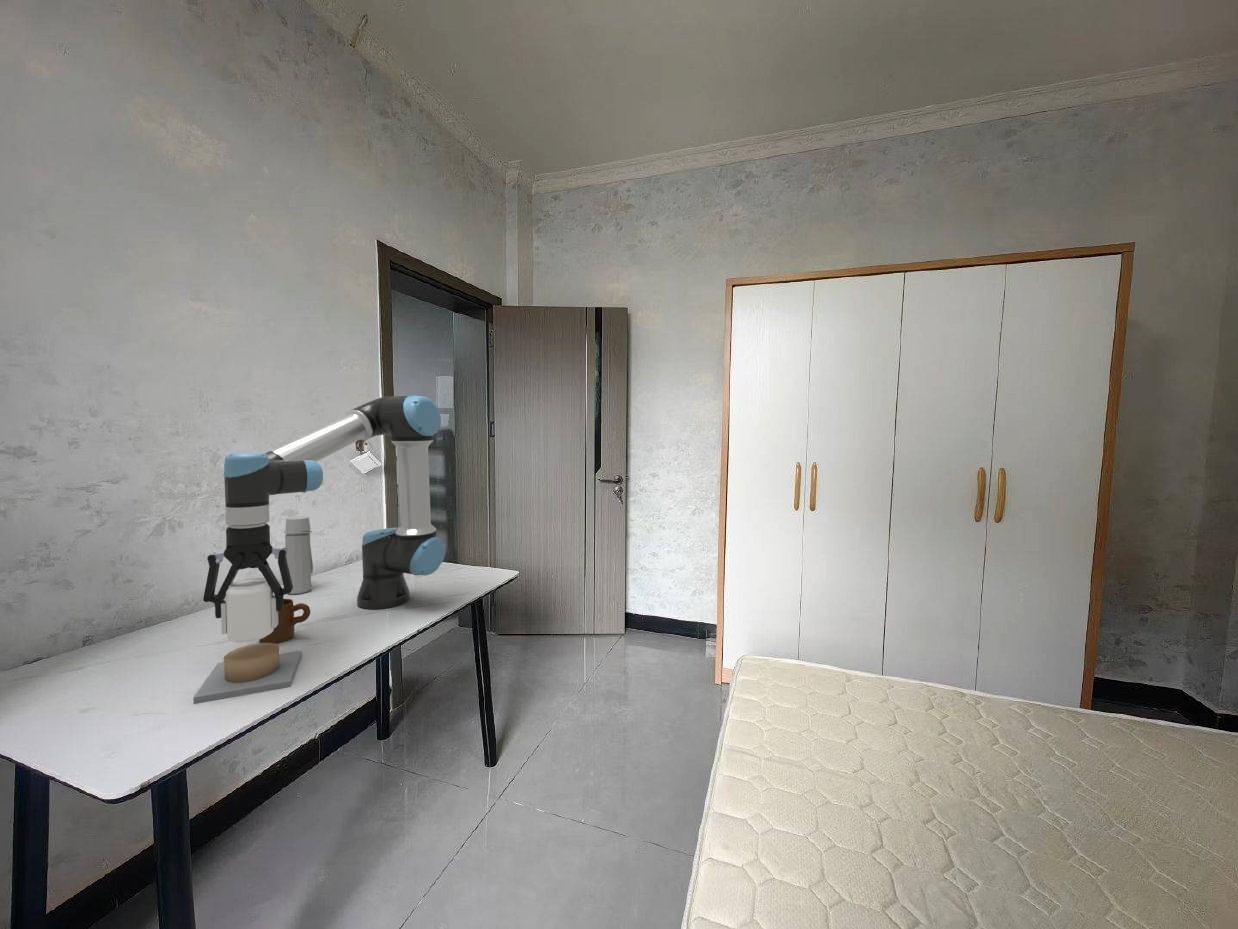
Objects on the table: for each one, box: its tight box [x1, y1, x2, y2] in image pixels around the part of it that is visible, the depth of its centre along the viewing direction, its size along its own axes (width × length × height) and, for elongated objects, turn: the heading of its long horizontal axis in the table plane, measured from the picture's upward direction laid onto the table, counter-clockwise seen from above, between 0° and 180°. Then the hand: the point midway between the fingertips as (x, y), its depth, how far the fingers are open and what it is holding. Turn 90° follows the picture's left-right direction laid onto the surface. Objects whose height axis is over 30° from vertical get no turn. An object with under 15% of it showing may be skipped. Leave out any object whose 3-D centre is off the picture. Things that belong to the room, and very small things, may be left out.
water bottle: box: [283, 515, 314, 595], centre depth 165 cm, size 9×8×25 cm
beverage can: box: [225, 577, 274, 644], centre depth 106 cm, size 8×8×12 cm
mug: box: [259, 598, 311, 644], centre depth 127 cm, size 12×8×9 cm, turn 97°
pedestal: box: [193, 642, 302, 704], centre depth 107 cm, size 16×16×6 cm
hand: (250, 628), depth 107 cm, fingers closed on beverage can, 8 cm apart
